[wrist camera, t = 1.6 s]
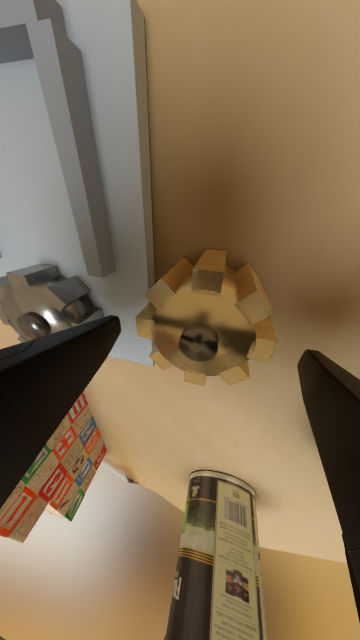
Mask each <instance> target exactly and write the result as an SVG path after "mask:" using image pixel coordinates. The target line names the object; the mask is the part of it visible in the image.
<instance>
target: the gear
mask: <svg viewBox="0 0 360 640" xmlns="http://www.w3.org/2000/svg"><path fill="white" fill-rule="evenodd" d="M90 292H91V289H90V288H89V287H88V286H87V285H86V284H85V283H84V282H83V281H82V280H81V279H80V278H78V277H77V276H73V277H71V278H66V277H64V276H62V275H61V274H60V271H59V268H58V265H51V264H43V263H41V264H37V265H33V266H29V267H26V268H22V269H18V270H14V271H10V272H7V273H6V276H3V277H0V318H1V320H2V322H3V323H4V324H6V325H11V326H12V328H13V329H14V330H15V331H16V332H17V333H18V334H19V335H20V336H19V338H18V340H19V341H21V342H22V343H24V342H27V341H30V340H33V339H37V338H40V337H43V336H46V335H49V334H52V333H55V332H59V331H62V330H65V329H68V328H71V327H74V326H77V325H81V324H84V323H87V322H90V321H93V320H96V319H100V318H103V317H104V314H103V310H102V308H101V307H95V306H94V305H93V303H92V301H91V300H90V298H89V297H88V296H87V295H88V294H89V293H90Z"/></svg>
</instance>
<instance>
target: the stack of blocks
mask: <svg viewBox="0 0 360 640" xmlns="http://www.w3.org/2000/svg"><path fill="white" fill-rule="evenodd" d="M105 454H106V449H105V447H104V443H103V441H102V438H101V436H100V433H99V431H98V428H97V427H96V424H95V421H94V419H93V417H92V414H91V412H90V410H89V407H88V405H87V401H86V399H85V396H84V394H83V392H82V394H81V395H80V397H79V398H78V399H77V401H76V402H75V404H74V405H73V406H72V408H71V409H70V411H69V412H68V414H67V415H66V416H65V418H64V419H63V421H62V422H61V424H60V425H59V426H58V428H57V429H56V431H55V432H54V434H53V435H52V436H51V438H50V439H49V441H48V442H47V444H46V445H45V447H44V448H43V449H42V451H41V452H40V454H39V455H38V457H37V458H36V459H35V461H34V462H33V464H32V465H31V466H30V468H29V469H28V471H27V472H26V474H25V475H24V476H23V478H22V479H21V481H20V482H19V484H18V485H17V486H16V488H15V489H14V491H13V492H12V494H11V495H10V496H9V498H8V499H7V501H6V502H5V504H4V505H3V506H2V508H1V509H0V535H1V536H3V537H6V538H10V539H12V540H15V541H17V542H20V543H23V542H24V541H25V539H26V538H27V536H28V535H29V533H30V531H31V530H32V528H33V527H34V525H35V524H36V522H37V520H38V519H39V517H40V516H41V514H42V513H43V511H47V512H49V513H51V514H54V515H57V516H59V517H61V518H63V519H66V520H68V521H70V522H71V521H72V519H73V517H74V515H75V513H76V512H77V510H78V508H79V506H80V504H81V502H82V500H83V498H84V496H85V492H86V491H87V489H88V487H89V485H90V483H91V481H92V479H93V477H94V475H95V473H96V471H97V469H98V467H99V465H100V463H101V462H102V460H103V458H104V456H105Z"/></svg>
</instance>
